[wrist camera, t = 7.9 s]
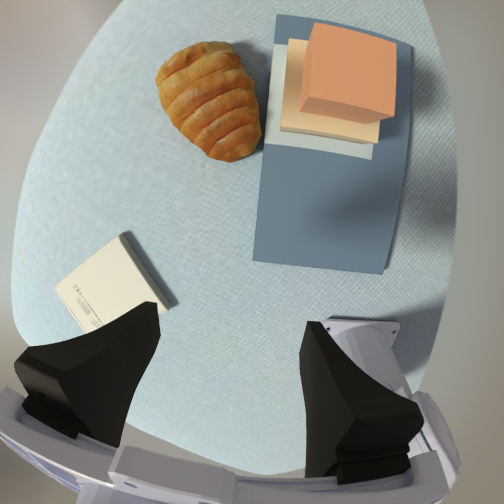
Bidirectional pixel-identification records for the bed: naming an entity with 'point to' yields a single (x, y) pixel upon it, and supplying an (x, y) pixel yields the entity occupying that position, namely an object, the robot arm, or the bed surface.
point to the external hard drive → (109, 286)
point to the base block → (312, 122)
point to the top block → (348, 75)
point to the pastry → (211, 100)
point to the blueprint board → (330, 177)
